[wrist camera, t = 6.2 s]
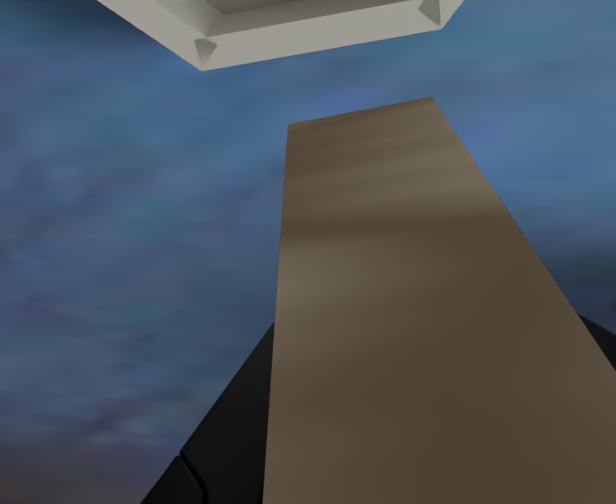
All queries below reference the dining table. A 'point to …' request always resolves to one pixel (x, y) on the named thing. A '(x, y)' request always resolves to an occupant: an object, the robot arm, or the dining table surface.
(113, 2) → the octagonal boat dish
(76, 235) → the dining table surface
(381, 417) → the wood grain block
